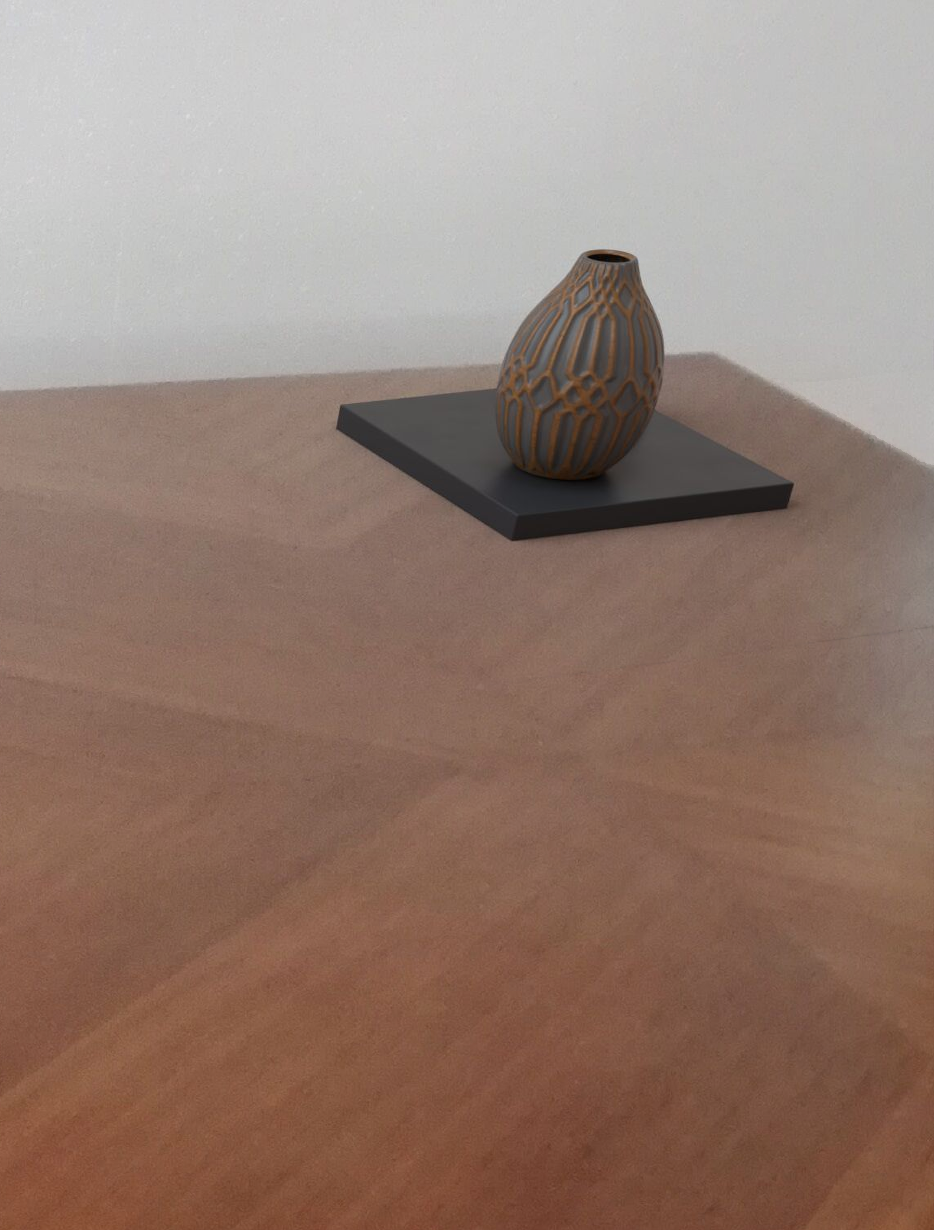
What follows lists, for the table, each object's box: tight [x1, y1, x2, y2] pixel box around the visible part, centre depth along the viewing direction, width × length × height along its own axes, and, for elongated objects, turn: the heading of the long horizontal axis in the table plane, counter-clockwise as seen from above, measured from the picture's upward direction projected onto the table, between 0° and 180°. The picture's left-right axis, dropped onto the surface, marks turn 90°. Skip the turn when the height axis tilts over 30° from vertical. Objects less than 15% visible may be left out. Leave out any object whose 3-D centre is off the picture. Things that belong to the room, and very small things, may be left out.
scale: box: [335, 387, 795, 542], centre depth 114 cm, size 16×14×3 cm
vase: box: [495, 248, 666, 480], centre depth 109 cm, size 7×7×9 cm
